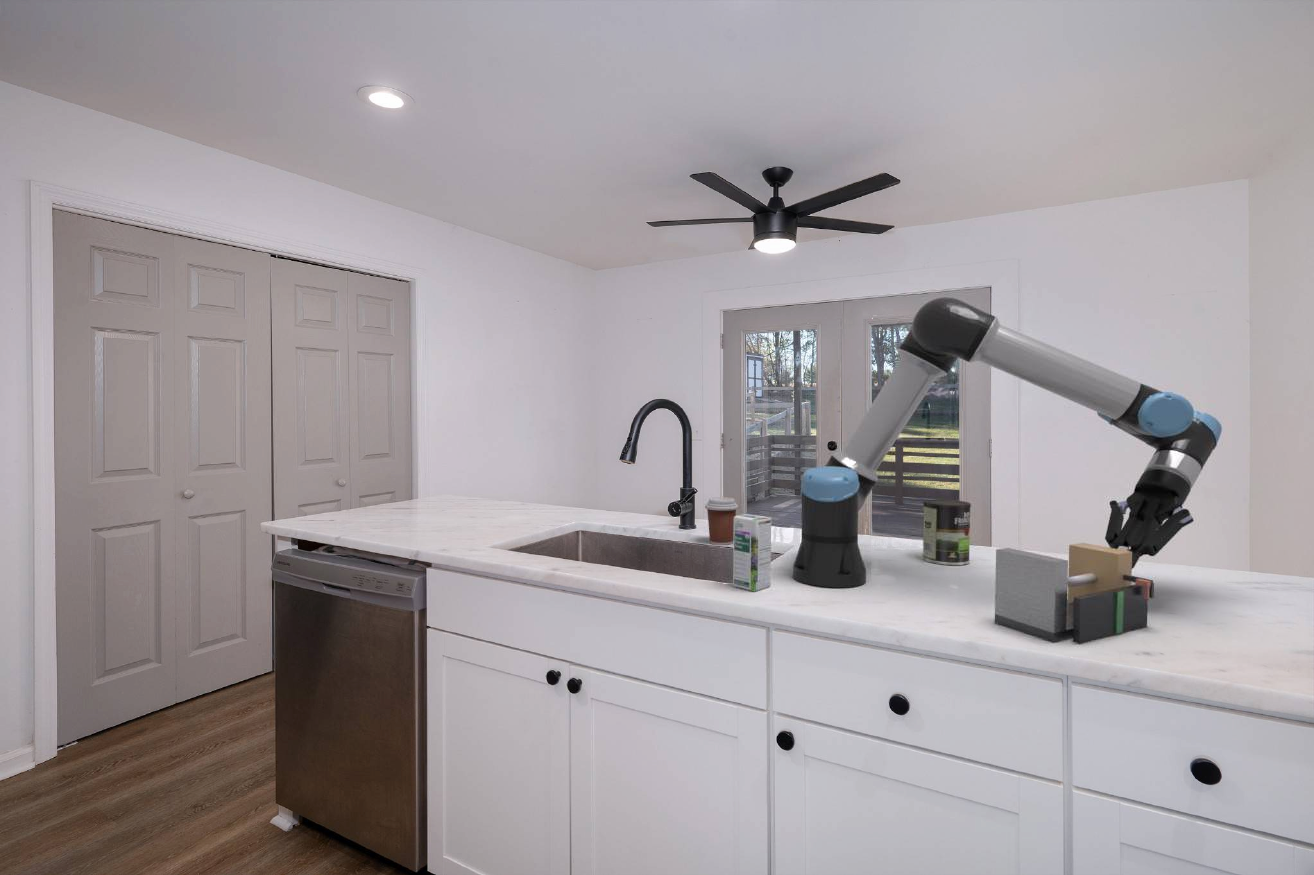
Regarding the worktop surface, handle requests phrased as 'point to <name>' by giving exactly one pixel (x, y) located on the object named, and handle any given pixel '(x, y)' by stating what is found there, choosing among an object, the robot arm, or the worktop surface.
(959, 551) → the coffee can
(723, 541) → the coffee cup
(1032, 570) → the stand
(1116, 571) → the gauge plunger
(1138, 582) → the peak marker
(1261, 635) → the worktop surface
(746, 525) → the syrup box
